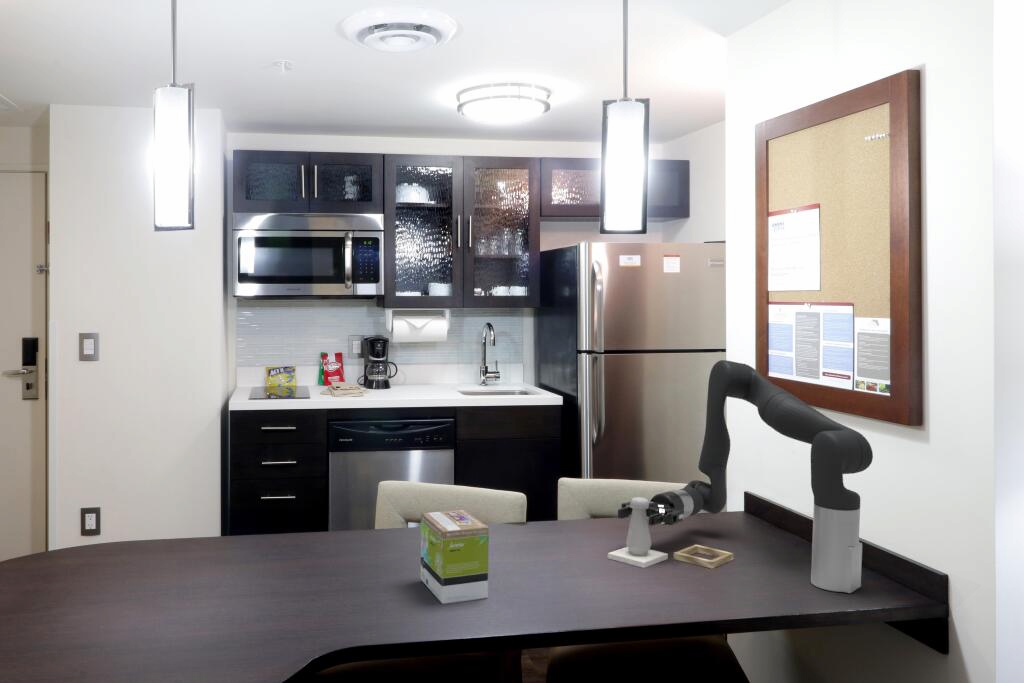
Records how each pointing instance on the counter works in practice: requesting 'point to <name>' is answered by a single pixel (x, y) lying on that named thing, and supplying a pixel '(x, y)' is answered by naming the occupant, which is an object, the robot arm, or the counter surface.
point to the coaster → (638, 557)
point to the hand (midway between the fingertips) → (634, 517)
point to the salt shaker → (638, 528)
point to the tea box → (454, 556)
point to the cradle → (686, 557)
